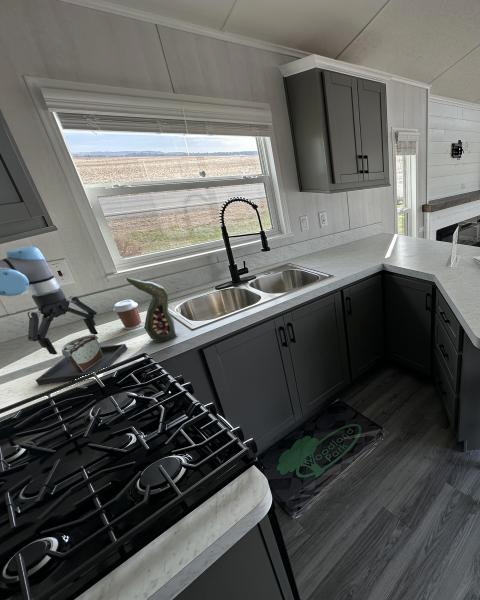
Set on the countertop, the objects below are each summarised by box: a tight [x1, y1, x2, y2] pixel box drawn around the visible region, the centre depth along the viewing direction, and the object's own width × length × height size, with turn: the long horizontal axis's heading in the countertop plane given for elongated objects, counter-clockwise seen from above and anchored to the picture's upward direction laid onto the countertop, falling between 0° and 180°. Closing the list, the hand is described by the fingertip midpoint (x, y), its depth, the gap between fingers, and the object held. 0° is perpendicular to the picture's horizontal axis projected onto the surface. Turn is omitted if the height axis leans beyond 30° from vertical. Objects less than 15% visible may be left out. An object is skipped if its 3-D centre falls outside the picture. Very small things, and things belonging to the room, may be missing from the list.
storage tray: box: [35, 343, 128, 386], centre depth 126 cm, size 20×19×2 cm
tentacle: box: [125, 277, 177, 343], centre depth 138 cm, size 9×12×30 cm
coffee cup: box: [112, 299, 143, 330], centre depth 152 cm, size 9×9×12 cm
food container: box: [61, 334, 104, 372], centre depth 124 cm, size 12×6×10 cm, turn 0°
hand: (75, 343), depth 122 cm, fingers open, 13 cm apart
